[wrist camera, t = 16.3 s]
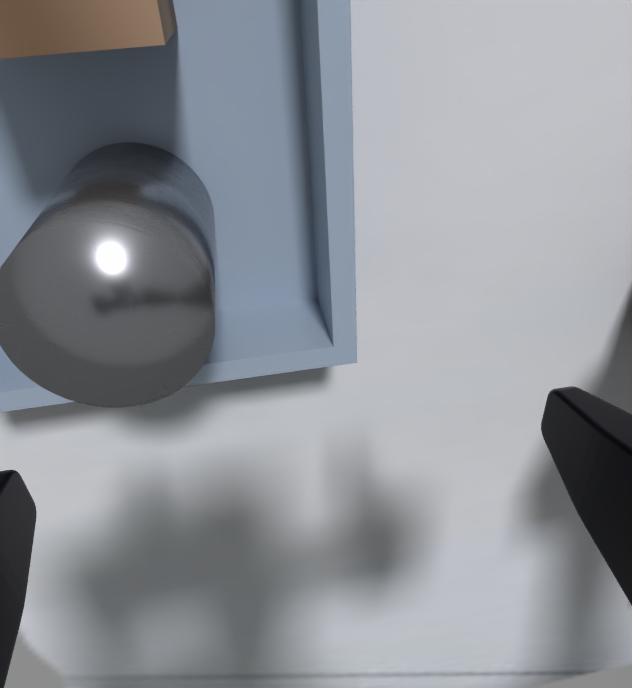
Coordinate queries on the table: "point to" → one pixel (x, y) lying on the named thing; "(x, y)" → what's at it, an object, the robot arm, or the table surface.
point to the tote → (214, 167)
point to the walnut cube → (82, 25)
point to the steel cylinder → (114, 281)
